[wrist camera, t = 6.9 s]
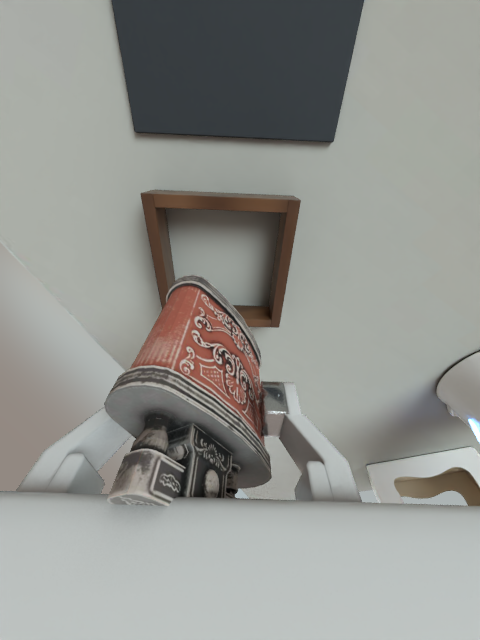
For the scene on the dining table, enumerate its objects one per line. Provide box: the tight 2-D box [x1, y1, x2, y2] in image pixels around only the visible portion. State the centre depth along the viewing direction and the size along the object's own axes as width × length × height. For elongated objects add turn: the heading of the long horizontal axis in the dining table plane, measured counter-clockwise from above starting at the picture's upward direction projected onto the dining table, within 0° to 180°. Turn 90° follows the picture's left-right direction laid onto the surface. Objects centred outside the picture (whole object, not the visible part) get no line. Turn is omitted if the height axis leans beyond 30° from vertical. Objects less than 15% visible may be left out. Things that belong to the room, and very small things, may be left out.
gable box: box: [366, 447, 480, 506], centre depth 42 cm, size 22×13×28 cm, turn 114°
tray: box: [141, 190, 301, 327], centre depth 23 cm, size 13×13×3 cm
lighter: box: [104, 275, 272, 506], centre depth 10 cm, size 8×3×10 cm, turn 31°
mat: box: [112, 0, 364, 142], centre depth 14 cm, size 16×13×1 cm
